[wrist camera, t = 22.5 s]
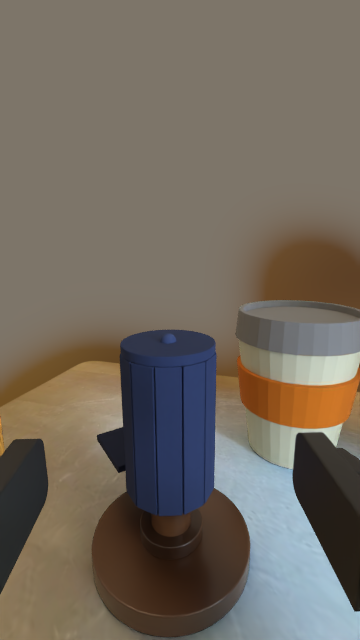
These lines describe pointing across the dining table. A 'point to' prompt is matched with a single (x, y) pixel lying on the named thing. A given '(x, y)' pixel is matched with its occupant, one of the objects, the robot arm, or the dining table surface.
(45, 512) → the dining table surface
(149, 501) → the navy lidded canister
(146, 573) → the paper towel holder
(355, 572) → the robot arm
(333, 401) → the reusable coffee cup
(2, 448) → the supplement box
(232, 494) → the dining table surface
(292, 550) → the dining table surface
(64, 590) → the dining table surface
